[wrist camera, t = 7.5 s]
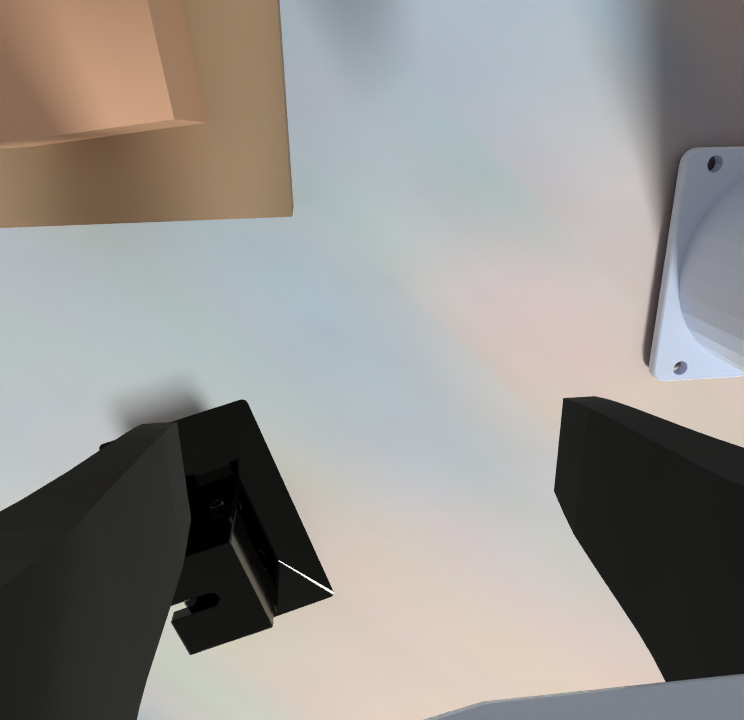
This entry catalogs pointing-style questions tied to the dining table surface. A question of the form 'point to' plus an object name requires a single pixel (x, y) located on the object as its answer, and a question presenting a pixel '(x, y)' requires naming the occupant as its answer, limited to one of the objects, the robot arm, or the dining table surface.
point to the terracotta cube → (94, 70)
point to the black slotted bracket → (238, 534)
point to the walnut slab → (176, 142)
